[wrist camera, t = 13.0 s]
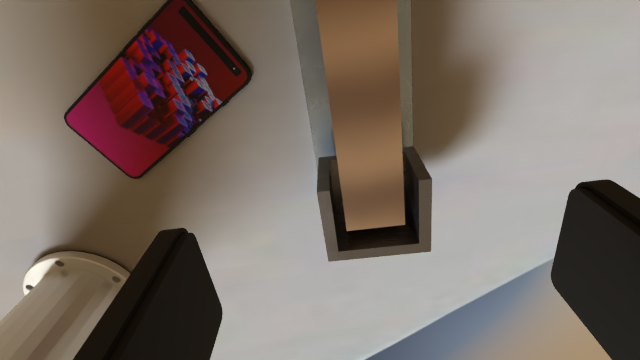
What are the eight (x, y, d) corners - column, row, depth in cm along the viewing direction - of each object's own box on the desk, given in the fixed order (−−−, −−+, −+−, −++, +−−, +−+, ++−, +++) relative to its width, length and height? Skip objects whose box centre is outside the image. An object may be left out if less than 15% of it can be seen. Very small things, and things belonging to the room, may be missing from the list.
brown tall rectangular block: (394, 194, 27) (405, 224, 24) (344, 200, 28) (346, 231, 24) (380, -89, 19) (392, -107, 15) (307, -76, 19) (303, -90, 16)
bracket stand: (410, 190, 32) (436, 250, 24) (323, 199, 32) (323, 262, 25) (404, -131, 21) (447, -195, 14) (274, -107, 22) (248, -157, 14)
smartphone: (57, 118, 29) (177, -13, 24) (65, 115, 29) (181, -13, 25) (135, 183, 31) (256, 78, 27) (140, 178, 32) (258, 75, 27)
